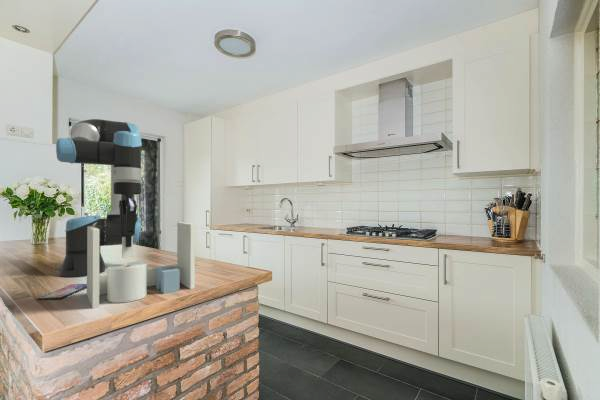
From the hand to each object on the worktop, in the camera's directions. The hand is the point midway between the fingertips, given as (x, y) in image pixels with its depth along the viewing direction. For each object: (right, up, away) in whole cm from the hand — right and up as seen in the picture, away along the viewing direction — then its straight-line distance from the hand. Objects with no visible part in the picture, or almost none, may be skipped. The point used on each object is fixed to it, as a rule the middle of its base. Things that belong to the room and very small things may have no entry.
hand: (127, 257), depth 93 cm
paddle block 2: (+11, -13, +6) cm, 18 cm away
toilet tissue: (0, -13, 0) cm, 13 cm away
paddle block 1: (+7, -13, +10) cm, 18 cm away
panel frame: (+3, -12, +4) cm, 13 cm away
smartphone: (-22, -13, +4) cm, 26 cm away
